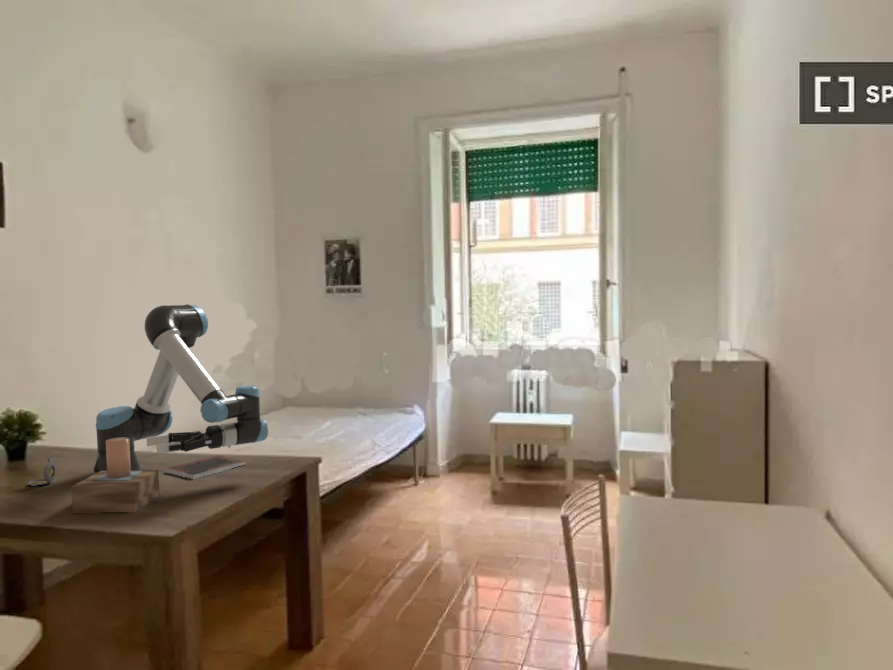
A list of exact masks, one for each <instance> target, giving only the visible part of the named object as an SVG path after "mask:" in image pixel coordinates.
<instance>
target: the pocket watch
mask: <svg viewBox="0 0 893 670" xmlns="http://www.w3.org/2000/svg"><path fill="white" fill-rule="evenodd" d="M52 457H53V455H52V454H49V455H48V456H47V458H46V459H47V463H46V464H45V466H44V469H43V478H39V479H33V480H30V481H29V482H28V483H27V485H28V486H29V485H31V486H30V487H38V486H37V485H43V486H45V485H44V484H46V485H49V484H50V483H52V482H53V481H54V480H55V479H56V476H57V472H58V470H57V469H58V468H57V465H56V463H55V461H54V462H53V461H51V459H52ZM36 481H47V482H46V483H41V484H30V483H32V482H36ZM48 483H49V484H48Z"/></svg>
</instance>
